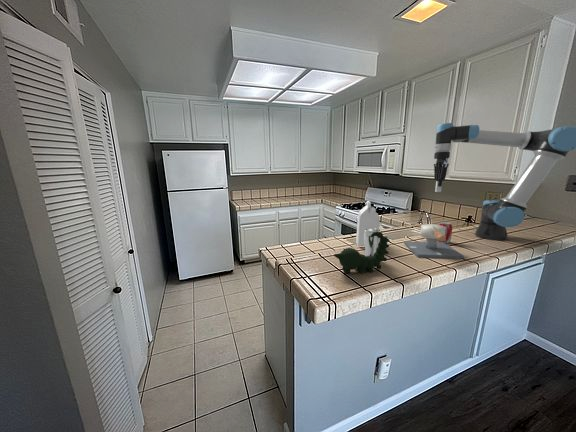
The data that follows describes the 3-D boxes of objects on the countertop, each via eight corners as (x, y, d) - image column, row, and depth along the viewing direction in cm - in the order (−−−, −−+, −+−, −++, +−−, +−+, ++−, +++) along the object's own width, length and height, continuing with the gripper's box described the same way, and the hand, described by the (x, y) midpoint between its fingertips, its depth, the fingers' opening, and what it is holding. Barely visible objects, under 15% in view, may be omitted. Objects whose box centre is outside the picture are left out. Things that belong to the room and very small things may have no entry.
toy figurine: (377, 267, 108) (328, 268, 104) (382, 229, 105) (331, 228, 100) (389, 276, 99) (336, 277, 95) (395, 234, 96) (340, 234, 91)
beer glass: (377, 261, 111) (379, 232, 107) (362, 260, 113) (363, 231, 110) (377, 256, 117) (378, 228, 114) (363, 255, 119) (364, 227, 116)
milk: (356, 241, 143) (357, 200, 137) (375, 241, 140) (377, 200, 135) (357, 247, 131) (359, 203, 126) (378, 248, 129) (381, 203, 124)
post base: (442, 244, 131) (443, 231, 130) (463, 258, 111) (465, 243, 109) (403, 243, 135) (404, 230, 133) (417, 257, 114) (418, 242, 113)
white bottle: (418, 232, 128) (419, 223, 127) (440, 233, 124) (441, 224, 123) (428, 244, 108) (429, 234, 107) (455, 246, 105) (456, 235, 103)
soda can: (453, 243, 132) (455, 224, 129) (441, 244, 132) (443, 224, 129) (445, 240, 138) (447, 221, 136) (433, 240, 139) (435, 221, 136)
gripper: (430, 152, 139) (426, 190, 144) (440, 151, 127) (436, 193, 131) (443, 152, 138) (439, 190, 143) (455, 150, 125) (450, 192, 130)
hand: (438, 191), depth 137 cm, fingers closed
